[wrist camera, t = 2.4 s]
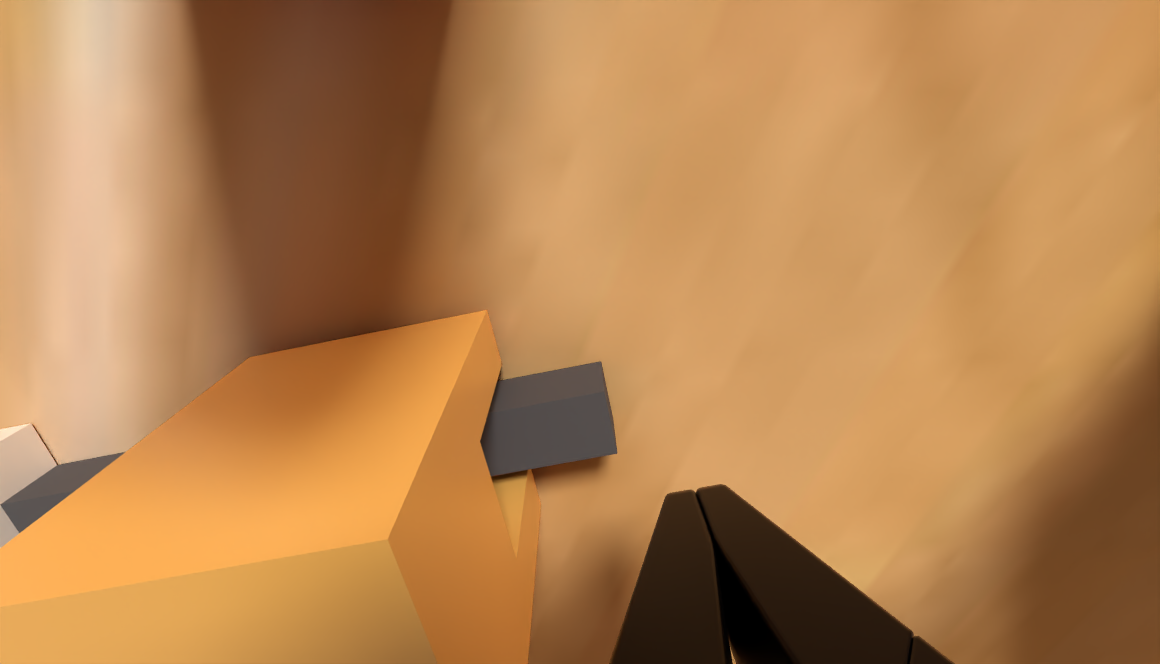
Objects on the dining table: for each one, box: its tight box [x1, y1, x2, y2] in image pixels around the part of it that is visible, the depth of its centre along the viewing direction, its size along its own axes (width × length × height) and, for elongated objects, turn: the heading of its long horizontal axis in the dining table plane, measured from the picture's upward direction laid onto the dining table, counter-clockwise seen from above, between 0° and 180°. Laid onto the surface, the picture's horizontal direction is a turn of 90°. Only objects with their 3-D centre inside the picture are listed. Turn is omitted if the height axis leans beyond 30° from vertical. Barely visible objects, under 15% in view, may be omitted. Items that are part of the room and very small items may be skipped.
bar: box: [0, 362, 617, 533], centre depth 12 cm, size 17×1×1 cm, turn 102°
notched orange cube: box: [0, 310, 541, 664], centre depth 9 cm, size 5×5×7 cm
